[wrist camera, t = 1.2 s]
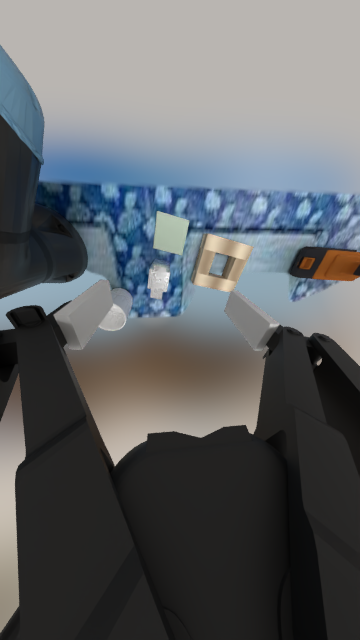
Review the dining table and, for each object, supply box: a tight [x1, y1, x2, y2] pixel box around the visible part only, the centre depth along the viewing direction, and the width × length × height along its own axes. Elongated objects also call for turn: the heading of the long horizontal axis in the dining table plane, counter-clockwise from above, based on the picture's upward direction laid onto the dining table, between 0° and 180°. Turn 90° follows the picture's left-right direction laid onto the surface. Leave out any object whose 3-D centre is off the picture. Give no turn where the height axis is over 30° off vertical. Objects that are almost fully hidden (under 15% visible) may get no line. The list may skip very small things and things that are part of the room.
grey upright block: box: [148, 258, 170, 299], centre depth 28 cm, size 4×6×14 cm, turn 167°
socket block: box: [191, 234, 253, 292], centre depth 33 cm, size 11×11×4 cm
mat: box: [153, 211, 189, 255], centre depth 30 cm, size 7×7×1 cm
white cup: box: [98, 288, 133, 331], centre depth 33 cm, size 8×8×10 cm
